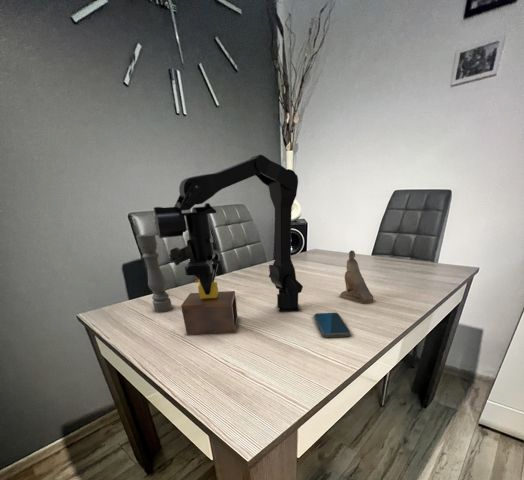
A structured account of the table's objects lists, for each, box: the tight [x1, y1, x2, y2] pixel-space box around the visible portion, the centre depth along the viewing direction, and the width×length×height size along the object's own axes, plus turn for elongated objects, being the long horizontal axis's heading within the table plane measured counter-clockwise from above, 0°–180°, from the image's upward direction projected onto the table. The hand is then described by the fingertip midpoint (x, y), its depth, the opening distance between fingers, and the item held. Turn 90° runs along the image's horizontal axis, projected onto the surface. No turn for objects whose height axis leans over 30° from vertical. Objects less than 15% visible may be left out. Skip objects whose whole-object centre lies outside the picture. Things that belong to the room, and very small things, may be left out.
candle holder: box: [136, 233, 173, 313], centre depth 93 cm, size 6×6×25 cm
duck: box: [194, 278, 219, 299], centre depth 78 cm, size 6×4×6 cm, turn 90°
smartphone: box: [313, 312, 351, 338], centre depth 79 cm, size 8×15×1 cm, turn 0°
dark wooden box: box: [180, 290, 239, 336], centre depth 82 cm, size 14×11×9 cm
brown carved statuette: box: [339, 250, 374, 305], centre depth 96 cm, size 12×6×18 cm, turn 34°
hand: (208, 292), depth 79 cm, fingers closed on duck, 3 cm apart
